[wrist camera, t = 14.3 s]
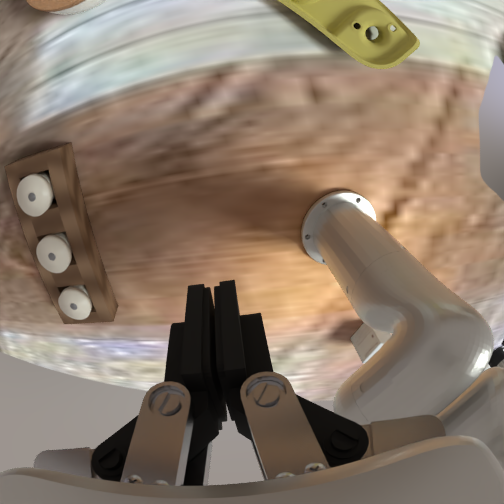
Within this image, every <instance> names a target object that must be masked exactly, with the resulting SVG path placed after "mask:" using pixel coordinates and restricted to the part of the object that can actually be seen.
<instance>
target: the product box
mask: <svg viewBox="0 0 504 504" xmlns="http://www.w3.org/2000/svg"><path fill="white" fill-rule="evenodd" d="M390 337H391V334H390V333H387V332H382V331H378V330H375V329H373V328H371V327H369V326H368V325H366V324H365V323H363V324H362V325H361V327H360V328H359V329H358V330H357V331H356V332H355V334H354V335H353V336H352V337H351V338H350V339H351V341H352V343H353V345H354V347H355V349H356V351H357V353H358V355H359V357H360V359H361V361H362V363H366V362H367V361H368V360H369V359H370V358H371V357H372V356H373V355H374V354H375V353H376V352H377V351H378V350H379V349H380V348H381V347H382V345H383V344H384V343H385V342H386V341H387V340H388V339H389V338H390Z"/></svg>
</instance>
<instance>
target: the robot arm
mask: <svg viewBox="0 0 504 504" xmlns="http://www.w3.org/2000/svg"><path fill="white" fill-rule="evenodd" d="M322 203H323V204H322ZM301 238H302V243H303V246H304V248H305V250H306V251H307V253H308V254H309V256H310V257H311V258H313V259H314V260H315V261H317V262H319V263H321V264H325V265H327V266H328V267H329V269H330V271H331V272H332V274H333V275H334V277H335V279H336V280H337V282H338V283H339V285H340V287H341V288H342V290H343V292H344V293H345V295H346V296H347V298H348V300H349V301H350V303H351V305H352V306H353V308H354V310H355V311H356V313H357V315H358V316H359V317H360V319H361V320H362V321H363V322H364V323H365V324H366V325H368V326H369V327H371V328H373V329H375V330H378V331H382V332H387V333H393V334H392V335H391V337H390V338H389V339H388V340H387V341H386V342H385V343H384V344H383V345H382V347H381V348H380V349H379V350H378V351H377V352H376V353H375V354H374V355H373V356H372V357H371V358H370V359H369V360H368V361H367V362H366V363H365V364H363V365H362V366H361V367H360V368H359V369H358V370H357V371H356V372H355V373H354V374H352V375H351V376H350V377H349V378H348V379H347V380H346V381H345V382H344V383H343V384H342V385H341V387H340V388H339V389H338V391H337V393H336V395H335V397H334V402H333V408H334V412H331V411H329V410H327V409H325V408H323V407H321V406H319V405H317V404H314V403H312V402H310V401H308V400H306V399H304V398H302V397H300V396H298V395H296V394H295V392H294V390H293V388H292V386H291V384H290V382H289V381H288V380H287V378H285V377H284V376H282V375H281V374H278V373H275V372H273V368H272V364H271V359H270V354H269V350H268V345H267V340H266V335H265V331H264V326H263V321H262V316H261V313H256V314H249V315H241V316H240V313H239V307H238V300H237V293H236V286H235V280H230V281H222V282H220V286H215V287H214V304H215V309H214V304H213V299H212V294H211V289H210V287H207V288H205V287H204V284H199V285H191V286H188V293H187V303H186V313H185V322H181V323H172V325H171V329H170V337H169V345H168V353H167V361H166V370H165V380H164V382H162V383H159V384H156V385H155V386H153V387H151V388H150V389H149V391H148V392H147V393H146V395H145V397H144V399H143V402H142V406H141V409H140V413H139V415H138V416H136V417H135V418H134V419H133V420H131V421H130V422H129V423H128V424H126V425H125V426H124V427H122V428H121V429H120V430H118V431H117V432H116V433H115V434H113V435H112V436H111V437H109V438H108V439H107V440H105V441H104V442H103V443H101V444H100V445H99V446H98V447H97V448H96V449H90V448H89V447H85V448H75V449H62V450H46V451H42V452H41V453H40V454H38V455H37V457H36V459H35V462H34V468H29V467H28V468H27V467H24V468H14V469H10V470H7V471H4V472H1V473H0V504H504V368H501V367H492V368H489V369H487V370H485V371H484V369H485V368H486V366H487V364H488V362H489V360H490V358H491V356H492V352H493V347H494V338H493V333H492V330H491V328H490V326H489V324H488V323H487V321H486V320H485V319H484V318H483V316H482V315H481V314H480V313H479V312H478V311H477V310H475V309H474V308H473V307H472V306H471V305H469V304H468V303H467V302H465V301H464V300H463V299H461V298H460V297H459V296H458V295H456V294H455V293H454V292H452V291H451V290H450V289H449V288H447V287H446V286H445V285H444V284H443V283H441V282H440V281H439V280H438V279H437V278H436V277H435V276H434V275H432V274H431V273H430V272H429V271H428V270H427V269H426V268H425V267H424V266H423V265H422V264H421V263H420V262H419V261H418V260H417V259H416V258H415V257H414V256H413V255H412V254H411V253H410V252H409V251H408V250H407V249H405V248H404V247H403V246H402V245H401V244H400V243H399V242H398V241H397V240H396V239H395V238H394V237H393V236H392V235H391V234H390V233H389V232H387V231H386V230H385V229H384V228H383V227H382V226H381V225H380V224H379V223H378V222H377V221H376V216H375V212H374V209H373V207H372V205H371V204H370V202H369V201H368V200H366V199H365V198H364V197H363V196H361V195H360V194H358V193H355V192H353V191H347V190H345V191H336V192H332V193H330V194H327V195H325V196H323V197H322V198H320V199H319V200H318V201H317V202H316V203H314V204H313V205H312V207H311V208H310V209H309V211H308V212H307V214H306V216H305V218H304V220H303V224H302V229H301ZM483 371H484V372H483ZM226 404H227V407H228V410H229V413H230V417H231V420H232V421H234V420H235V423H236V426H237V430H238V432H239V433H240V434H242V435H243V436H245V437H246V438H248V439H250V440H251V443H252V446H253V449H254V452H255V455H256V458H257V461H258V464H259V467H260V470H261V473H262V476H263V478H264V481H258V482H249V483H239V484H227V485H209V486H207V484H208V477H209V468H210V460H211V452H212V440H213V439H214V438H215V437H216V436H217V435H218V434H219V430H222V422H224V421H227V410H226Z"/></svg>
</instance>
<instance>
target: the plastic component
mask: <svg viewBox="0 0 504 504" xmlns="http://www.w3.org/2000/svg"><path fill="white" fill-rule="evenodd" d="M278 1H279V2H281V3H282V4H284V5H285V6H287V7H288V8H290V9H291V10H293V11H294V12H295V13H297V14H298V15H300V16H301V17H302V18H304V19H305V20H306V21H308V22H309V23H310V24H312V25H313V26H314V27H316V28H317V29H318V30H319V31H321V32H322V33H323V34H324V35H326V36H327V37H328V38H329V39H331V40H332V41H333V42H334V43H335V44H337V45H338V46H339V47H340V48H341V49H343V50H344V51H345V52H346V53H347V54H349V55H350V56H351V57H353V58H354V59H355V60H357V61H358V62H360V63H362V64H364V65H366V66H368V67H371V68H376V69H387V68H391V67H394V66H396V65H398V64H400V63H401V62H402V61H404V60H405V59H406V58H407V57H408V56H409V55H410V54H412V53H413V52H414V51H415V50H416V49H417V48H418V47H419V45H420V42H419V40H418V39H417V37H416V36H415V35H414V34H413V33H412V32H411V31H410V30H409V29H408V28H407V27H406V26H405V25H404V24H403V23H402V22H401V21H400V20H399V19H398V18H397V17H396V16H395V15H394V14H393V13H392V12H391V11H390V10H389V9H388V8H387V7H386V6H385V5H384V4H383V3H382V2H380V1H379V0H278ZM355 23H359V24H360V27H359V29H355V28H354V26H353V25H354V24H355ZM391 25H393V26H394V27H395V28H396V30H395V31H391V30H390V26H391ZM371 26H375V27H376V28H377V29H378V32H379V35H378V37H377V38H376V39H374V40H368V39H367V37H366V35H365V32H366V29H367V28H368V27H371Z"/></svg>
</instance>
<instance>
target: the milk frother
mask: <svg viewBox="0 0 504 504" xmlns="http://www.w3.org/2000/svg"><path fill="white" fill-rule="evenodd" d="M503 346H504V341H503ZM502 349H504V348H501V347H499V348H498V349H496V350H495V351H494V352H493V353H492V356H491V358H490V360H489V362H488V364H489V365H490V367H491V368H492V367H501V368H504V351H503V350H502Z"/></svg>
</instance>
